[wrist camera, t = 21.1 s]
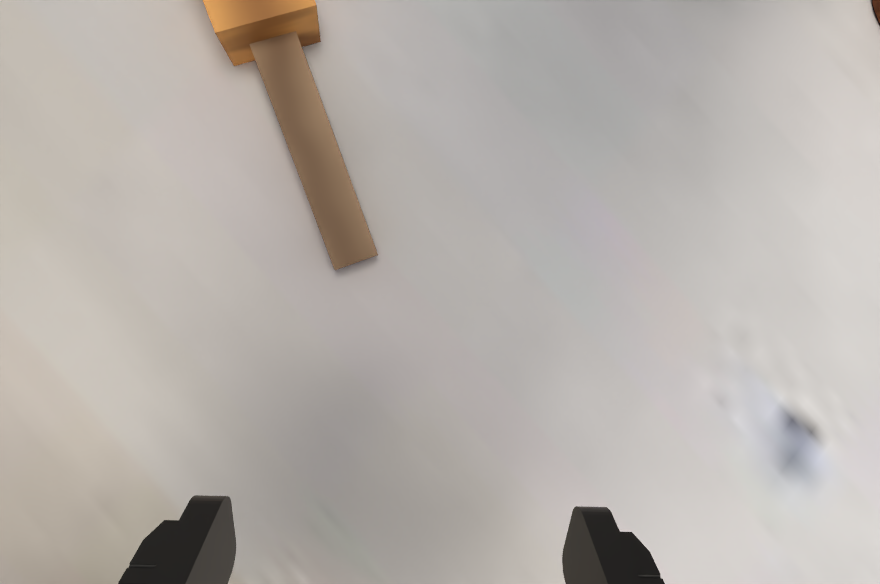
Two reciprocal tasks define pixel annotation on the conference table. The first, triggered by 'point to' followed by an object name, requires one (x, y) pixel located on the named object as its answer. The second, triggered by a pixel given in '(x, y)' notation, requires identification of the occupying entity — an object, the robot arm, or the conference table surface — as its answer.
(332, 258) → the mallet
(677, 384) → the conference table surface
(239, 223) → the conference table surface
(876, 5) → the wooden figurine
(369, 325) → the conference table surface
